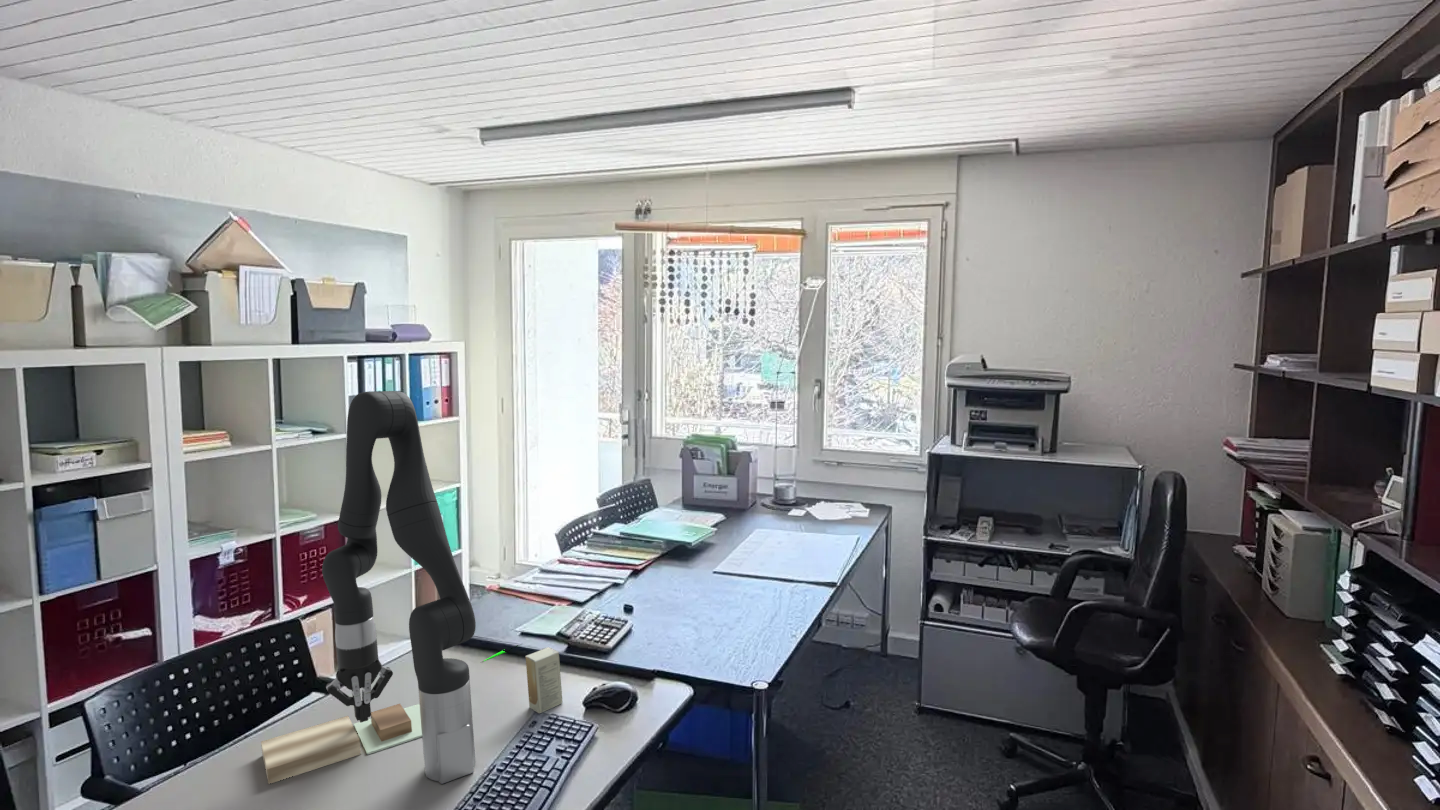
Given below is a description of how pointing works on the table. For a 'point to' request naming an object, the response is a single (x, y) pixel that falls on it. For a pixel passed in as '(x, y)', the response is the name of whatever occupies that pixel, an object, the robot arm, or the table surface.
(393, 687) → the table surface
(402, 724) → the brown wooden block
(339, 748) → the beige ridged block
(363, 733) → the mat
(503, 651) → the pen
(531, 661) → the skincare box
